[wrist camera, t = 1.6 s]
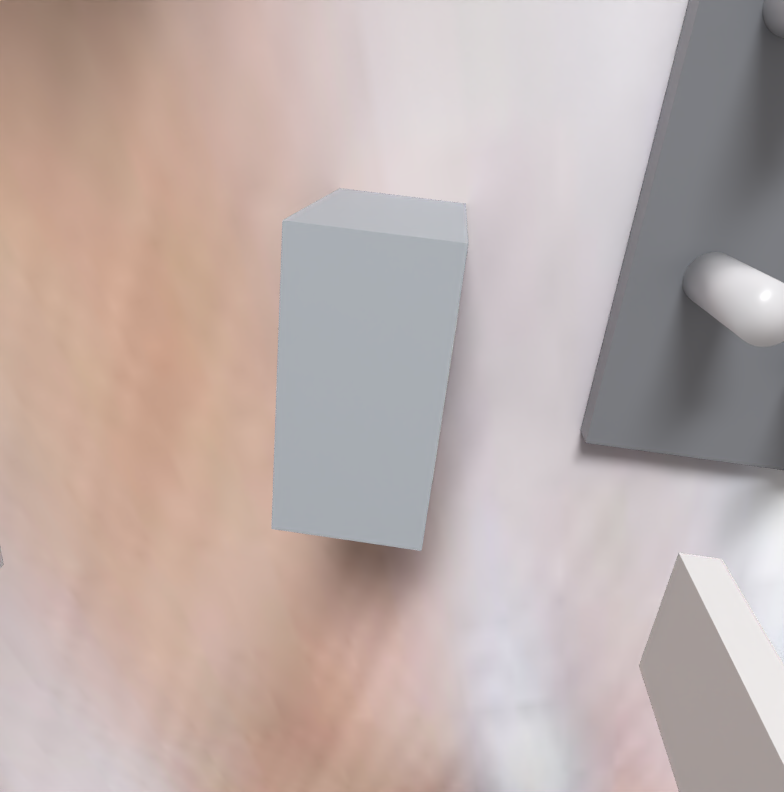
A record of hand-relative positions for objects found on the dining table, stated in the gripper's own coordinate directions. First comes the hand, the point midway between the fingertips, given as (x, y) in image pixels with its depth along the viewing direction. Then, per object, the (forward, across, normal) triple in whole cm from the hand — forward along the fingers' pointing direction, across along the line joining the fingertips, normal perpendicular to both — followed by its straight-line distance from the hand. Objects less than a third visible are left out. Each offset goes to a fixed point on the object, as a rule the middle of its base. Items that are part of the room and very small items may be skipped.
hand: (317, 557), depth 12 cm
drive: (+16, 0, 0) cm, 16 cm away
